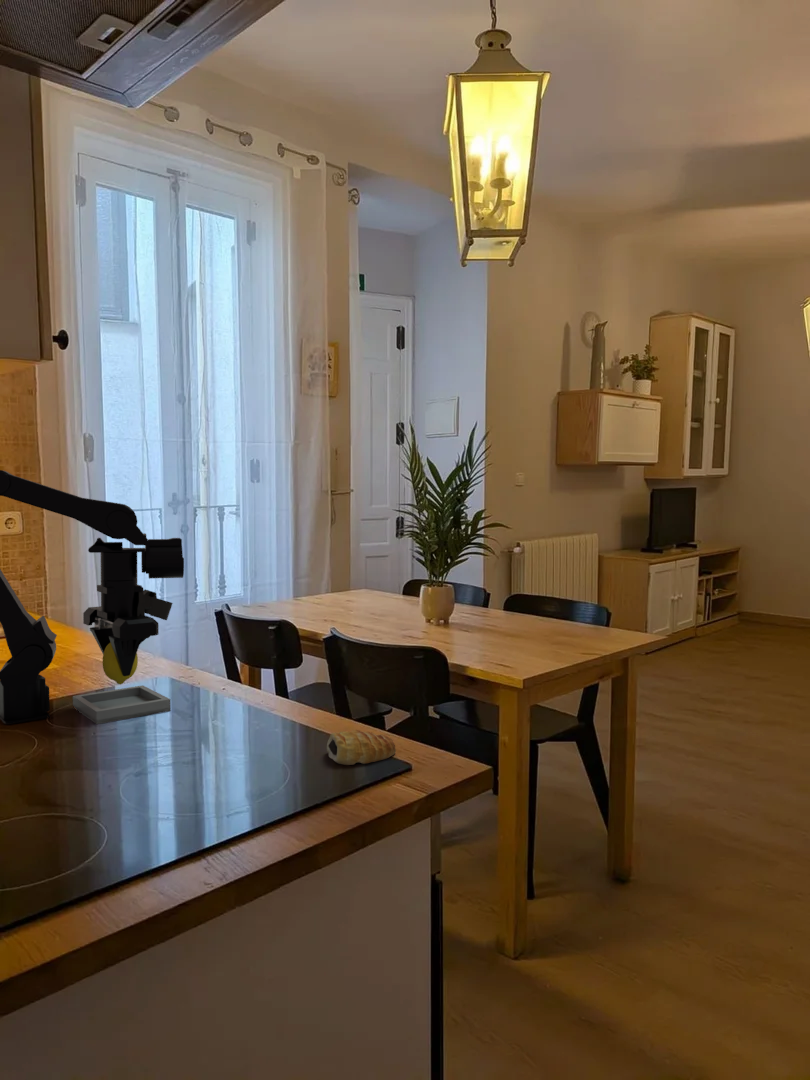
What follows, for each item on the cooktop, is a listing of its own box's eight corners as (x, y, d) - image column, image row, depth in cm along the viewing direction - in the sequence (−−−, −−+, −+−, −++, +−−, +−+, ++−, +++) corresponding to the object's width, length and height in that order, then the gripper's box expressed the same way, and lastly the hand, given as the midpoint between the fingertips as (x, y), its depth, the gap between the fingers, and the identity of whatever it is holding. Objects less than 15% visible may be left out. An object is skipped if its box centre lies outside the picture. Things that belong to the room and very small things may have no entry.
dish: (96, 724, 122) (96, 711, 121) (72, 707, 131) (72, 696, 131) (170, 711, 129) (170, 699, 129) (143, 696, 138) (142, 685, 138)
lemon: (126, 689, 127) (126, 640, 126) (95, 687, 128) (95, 639, 127) (144, 681, 132) (144, 634, 132) (114, 679, 133) (114, 633, 133)
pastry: (385, 746, 113) (385, 720, 112) (403, 761, 107) (403, 733, 106) (323, 754, 109) (323, 727, 109) (338, 770, 103) (338, 742, 103)
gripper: (189, 581, 127) (189, 676, 128) (145, 572, 141) (145, 657, 142) (120, 585, 120) (121, 686, 120) (81, 575, 134) (82, 665, 135)
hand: (119, 672), depth 130 cm, fingers closed on lemon, 5 cm apart
